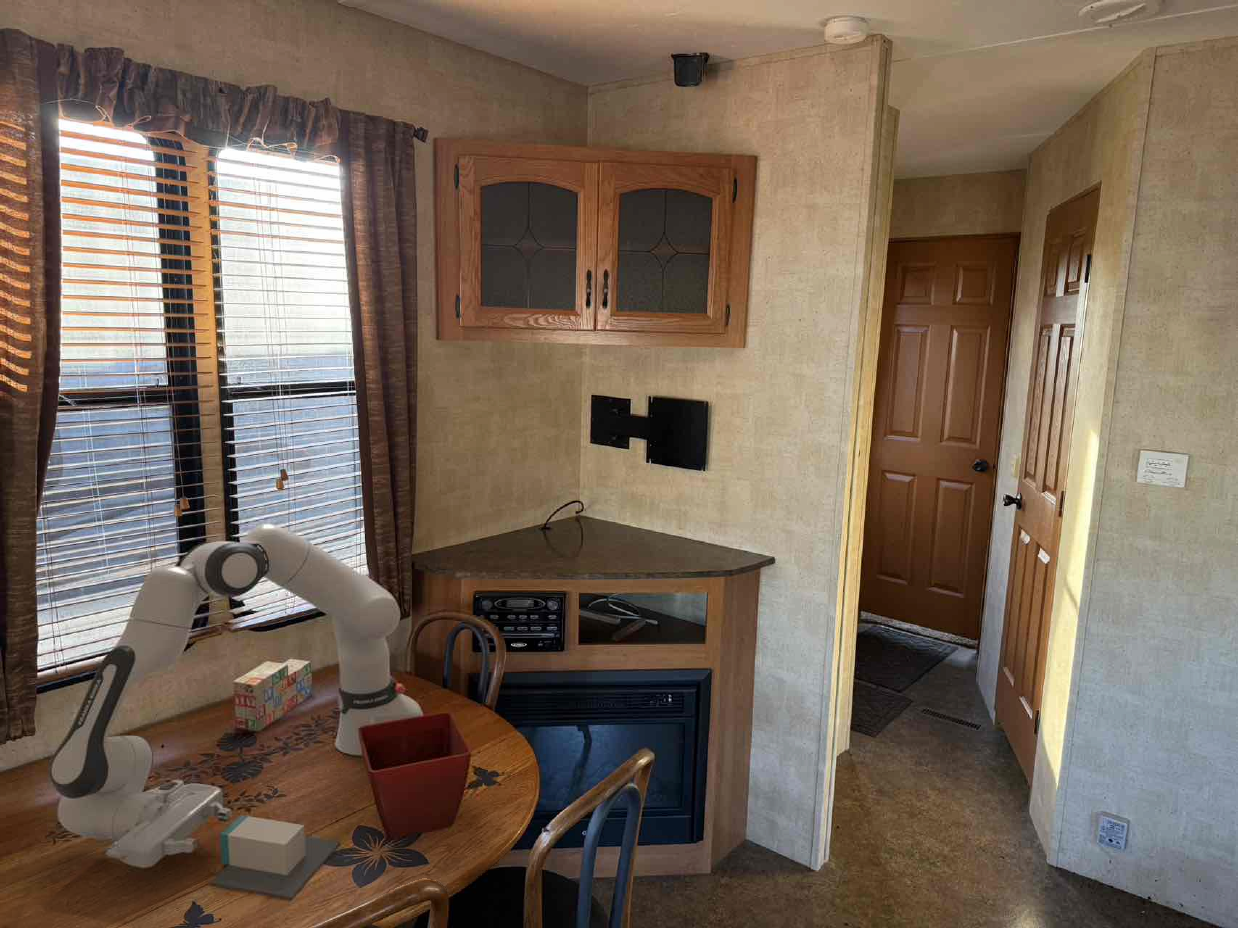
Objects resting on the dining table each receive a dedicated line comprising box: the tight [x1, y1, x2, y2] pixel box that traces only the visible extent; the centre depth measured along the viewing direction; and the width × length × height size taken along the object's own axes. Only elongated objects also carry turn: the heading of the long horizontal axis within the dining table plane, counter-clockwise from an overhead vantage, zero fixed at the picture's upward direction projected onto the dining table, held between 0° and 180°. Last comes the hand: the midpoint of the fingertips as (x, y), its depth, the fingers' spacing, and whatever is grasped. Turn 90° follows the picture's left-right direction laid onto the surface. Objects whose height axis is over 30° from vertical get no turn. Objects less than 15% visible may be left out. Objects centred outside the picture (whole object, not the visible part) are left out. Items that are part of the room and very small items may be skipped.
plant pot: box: [358, 711, 472, 840], centre depth 172 cm, size 19×19×17 cm
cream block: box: [220, 814, 306, 875], centre depth 158 cm, size 6×6×13 cm
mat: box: [209, 835, 341, 901], centre depth 158 cm, size 16×16×1 cm
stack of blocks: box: [232, 658, 313, 733], centre depth 216 cm, size 21×6×12 cm, turn 164°
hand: (212, 830), depth 155 cm, fingers open, 8 cm apart
